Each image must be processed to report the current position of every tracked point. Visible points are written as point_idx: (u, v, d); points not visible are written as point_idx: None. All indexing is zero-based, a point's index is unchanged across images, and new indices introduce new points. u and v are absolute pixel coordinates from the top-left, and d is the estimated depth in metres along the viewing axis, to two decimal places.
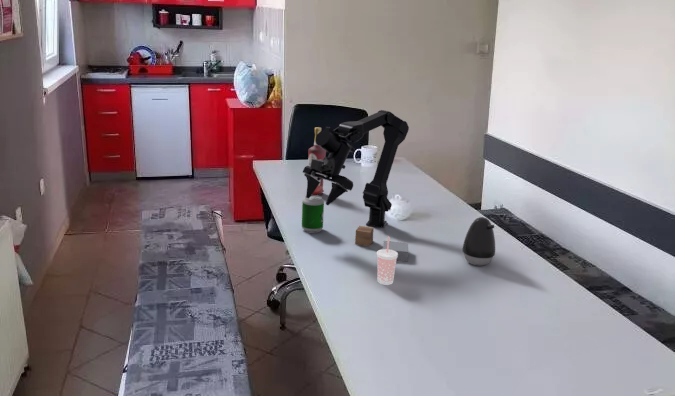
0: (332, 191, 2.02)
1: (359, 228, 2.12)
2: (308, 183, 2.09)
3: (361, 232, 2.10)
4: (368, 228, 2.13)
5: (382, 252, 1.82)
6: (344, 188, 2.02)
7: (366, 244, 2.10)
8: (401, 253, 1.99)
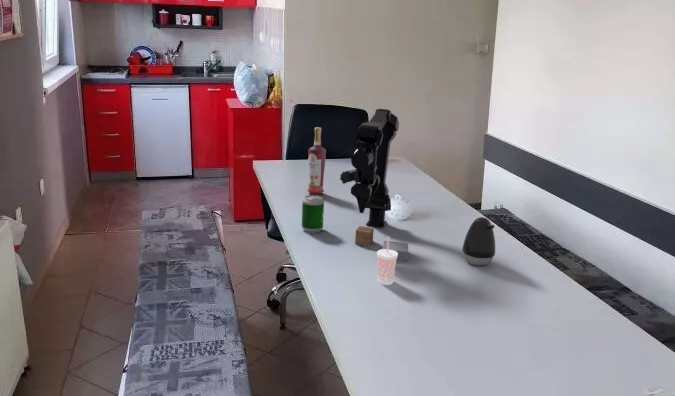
0: None
1: (359, 228, 2.12)
2: None
3: (361, 232, 2.10)
4: (368, 228, 2.13)
5: (382, 252, 1.82)
6: (362, 195, 2.00)
7: (366, 244, 2.10)
8: (401, 253, 1.99)
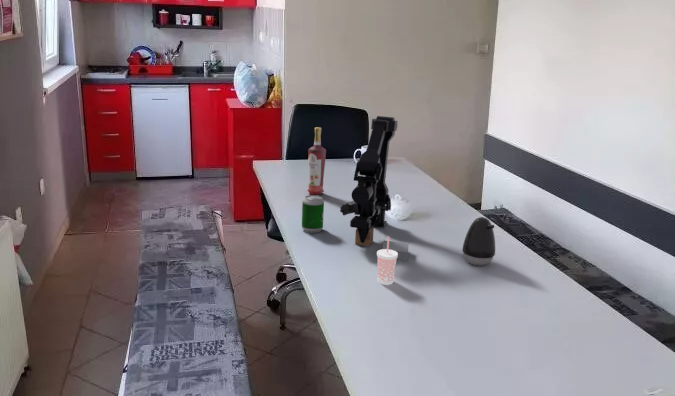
0: None
1: None
2: None
3: None
4: None
5: (382, 252, 1.82)
6: None
7: (366, 244, 2.10)
8: (401, 254, 1.99)
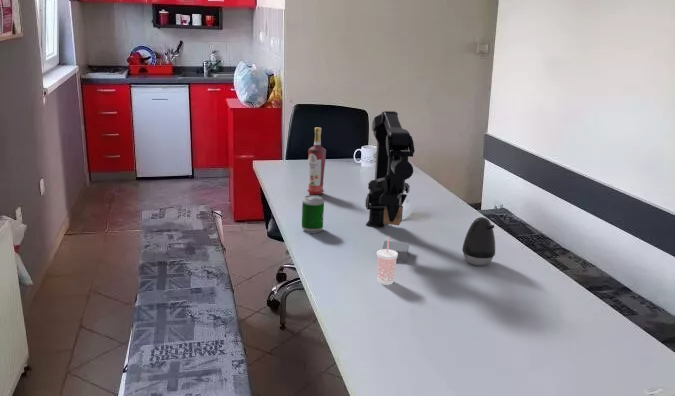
0: None
1: None
2: None
3: None
4: None
5: (382, 252, 1.82)
6: None
7: (395, 223, 1.99)
8: (400, 254, 1.99)
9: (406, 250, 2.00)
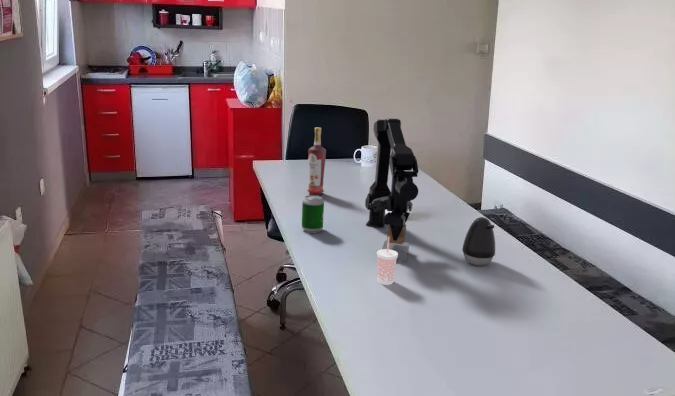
0: None
1: None
2: None
3: None
4: None
5: (382, 252, 1.82)
6: None
7: (399, 242, 2.00)
8: (400, 254, 1.99)
9: (406, 250, 2.00)
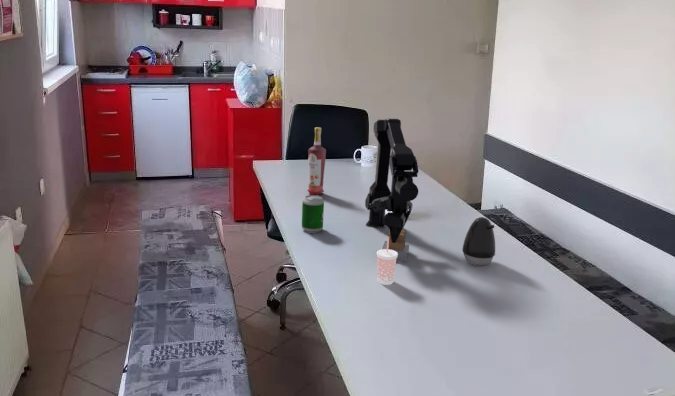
0: None
1: None
2: None
3: None
4: None
5: (382, 252, 1.82)
6: None
7: (399, 248, 2.00)
8: (400, 254, 1.99)
9: (406, 250, 2.00)
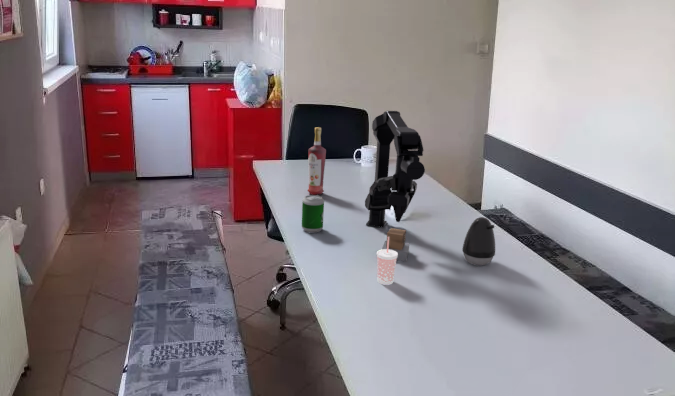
0: None
1: (391, 230, 2.02)
2: None
3: (393, 235, 2.00)
4: (400, 231, 2.02)
5: (382, 252, 1.82)
6: None
7: (398, 247, 2.00)
8: (400, 254, 1.99)
9: (406, 250, 2.00)
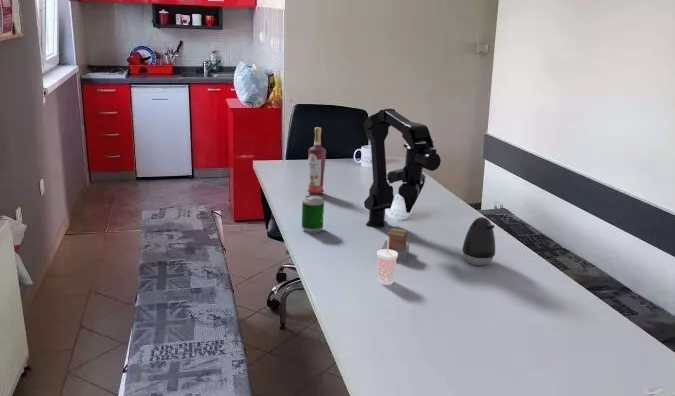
0: None
1: (392, 231, 2.02)
2: None
3: (394, 235, 1.99)
4: (401, 231, 2.02)
5: (382, 252, 1.82)
6: (410, 195, 2.01)
7: (399, 248, 2.00)
8: (400, 254, 1.99)
9: (406, 250, 2.00)
